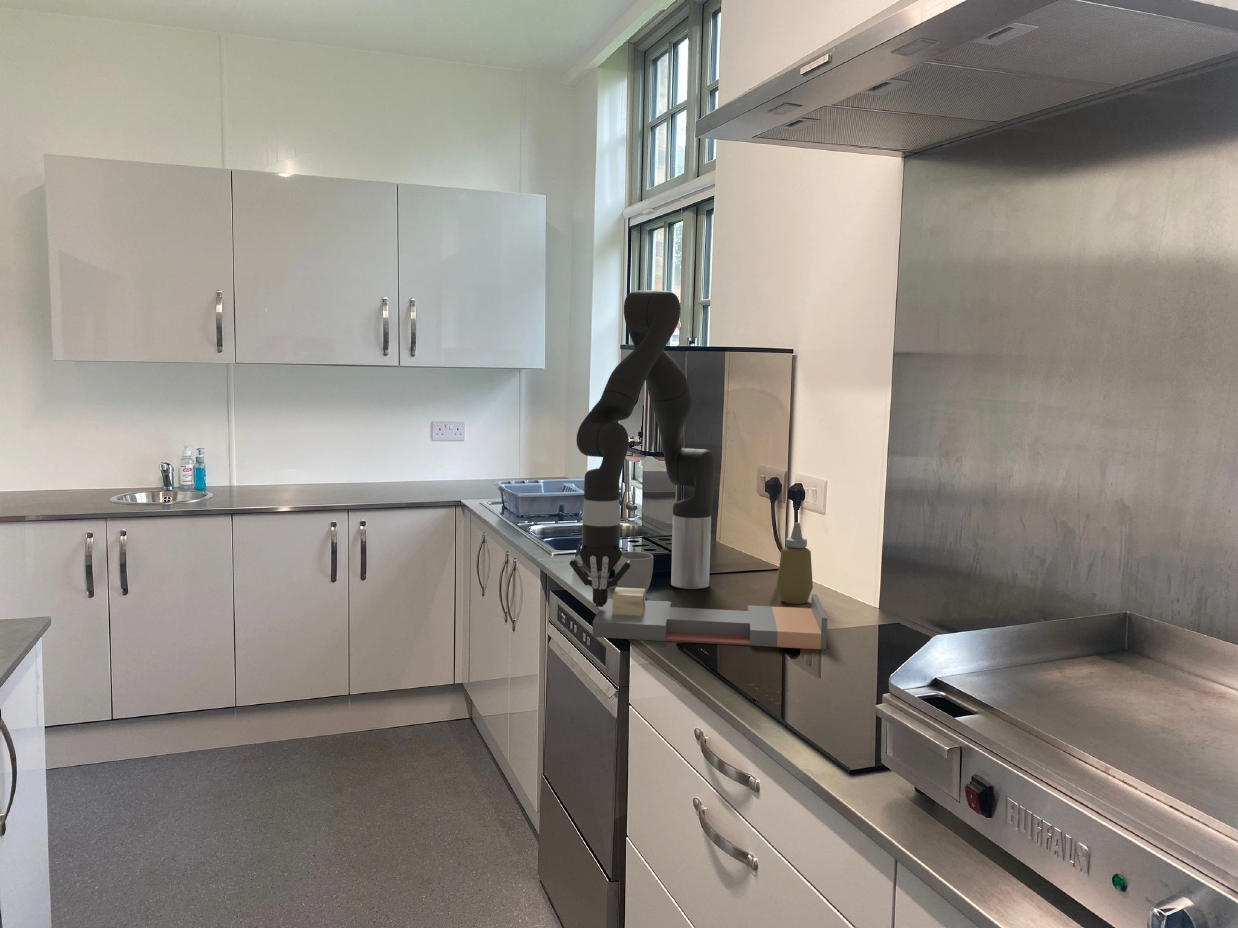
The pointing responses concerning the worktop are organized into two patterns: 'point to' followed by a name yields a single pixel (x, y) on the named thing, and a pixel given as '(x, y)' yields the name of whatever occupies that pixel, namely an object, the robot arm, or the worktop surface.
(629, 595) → the maple block
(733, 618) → the trap deck
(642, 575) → the mug
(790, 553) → the squeeze bottle
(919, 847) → the worktop surface
